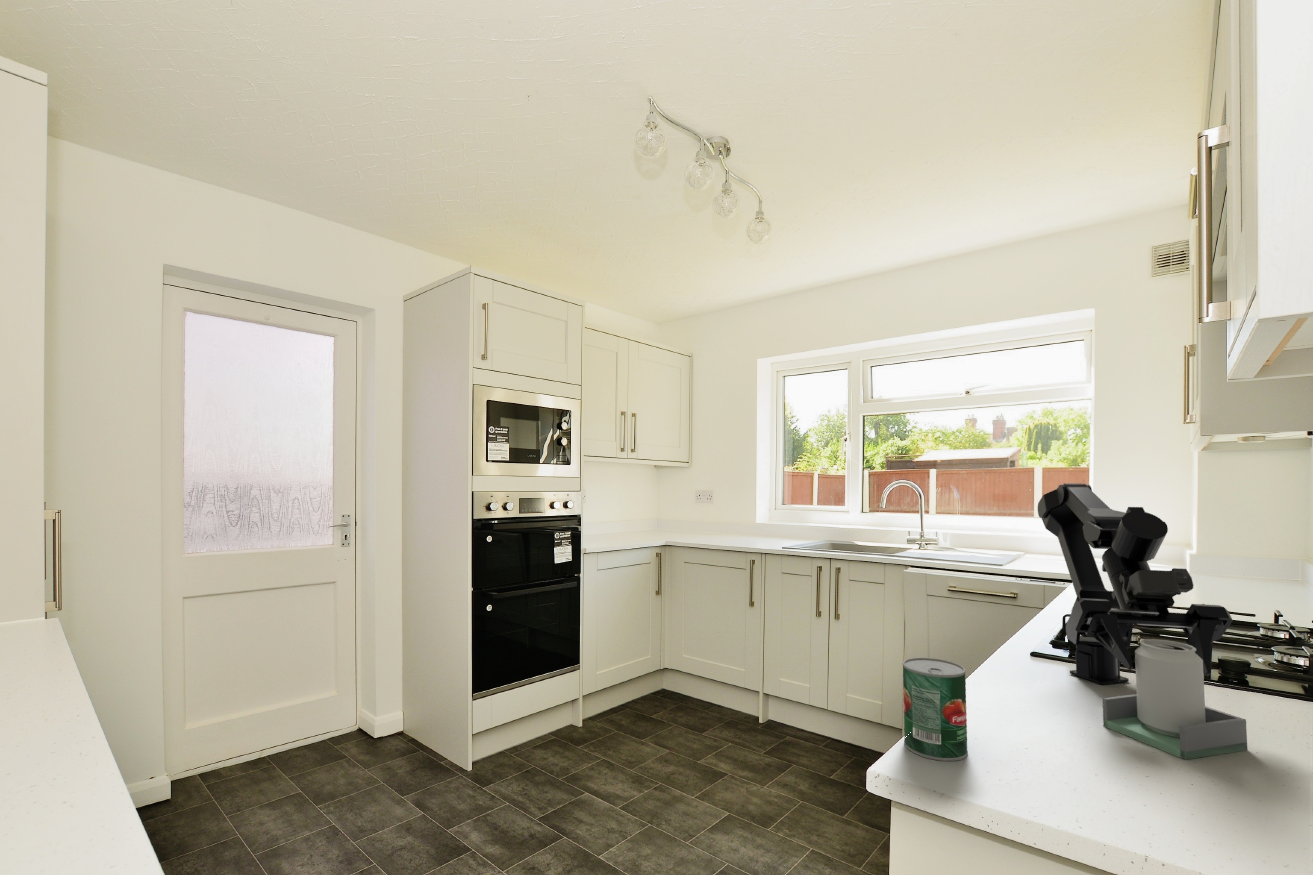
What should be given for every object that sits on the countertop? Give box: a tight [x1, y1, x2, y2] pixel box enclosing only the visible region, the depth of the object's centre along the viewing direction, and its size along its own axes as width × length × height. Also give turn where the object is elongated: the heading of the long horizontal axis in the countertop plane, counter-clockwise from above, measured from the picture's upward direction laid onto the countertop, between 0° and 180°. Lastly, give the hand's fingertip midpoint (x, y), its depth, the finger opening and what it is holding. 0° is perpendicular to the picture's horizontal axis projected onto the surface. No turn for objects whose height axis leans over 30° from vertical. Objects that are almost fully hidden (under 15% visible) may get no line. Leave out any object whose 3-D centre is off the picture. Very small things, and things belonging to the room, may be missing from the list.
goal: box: [1101, 693, 1248, 761], centre depth 88 cm, size 11×11×4 cm
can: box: [1134, 638, 1206, 738], centre depth 88 cm, size 8×8×12 cm
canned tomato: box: [901, 657, 969, 762], centre depth 85 cm, size 8×8×11 cm
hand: (1169, 671), depth 88 cm, fingers open, 9 cm apart
